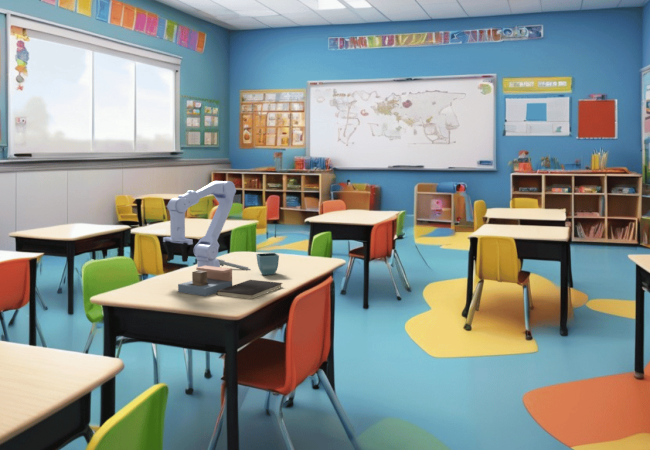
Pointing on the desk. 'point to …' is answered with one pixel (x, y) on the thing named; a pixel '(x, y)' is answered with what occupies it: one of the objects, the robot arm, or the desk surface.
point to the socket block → (204, 287)
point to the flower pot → (268, 263)
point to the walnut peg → (199, 278)
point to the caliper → (232, 265)
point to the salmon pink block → (217, 272)
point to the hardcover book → (249, 289)
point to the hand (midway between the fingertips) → (177, 260)
